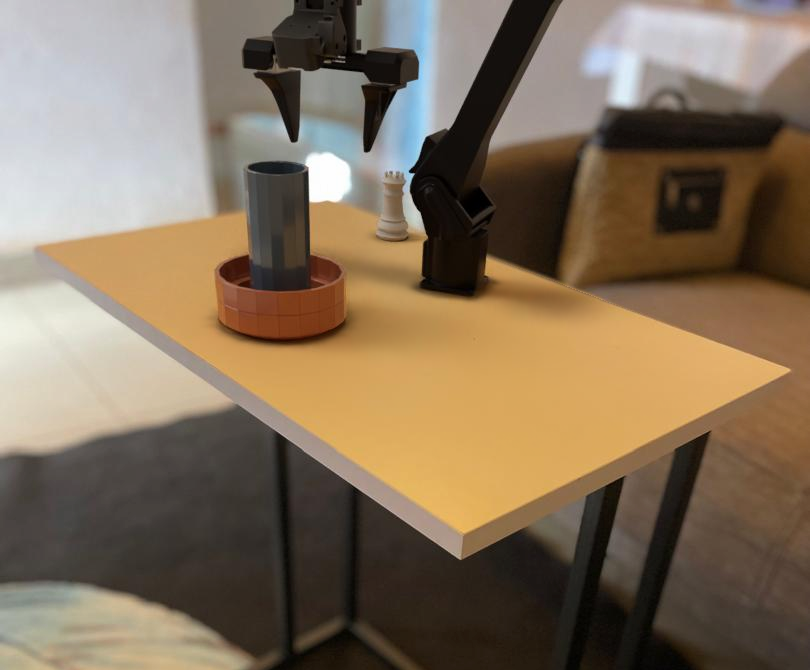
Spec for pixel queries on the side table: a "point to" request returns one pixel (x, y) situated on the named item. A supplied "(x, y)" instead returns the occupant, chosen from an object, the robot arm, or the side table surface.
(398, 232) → the rook chess piece
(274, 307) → the bowl
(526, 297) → the side table surface
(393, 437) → the side table surface
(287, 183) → the vase
